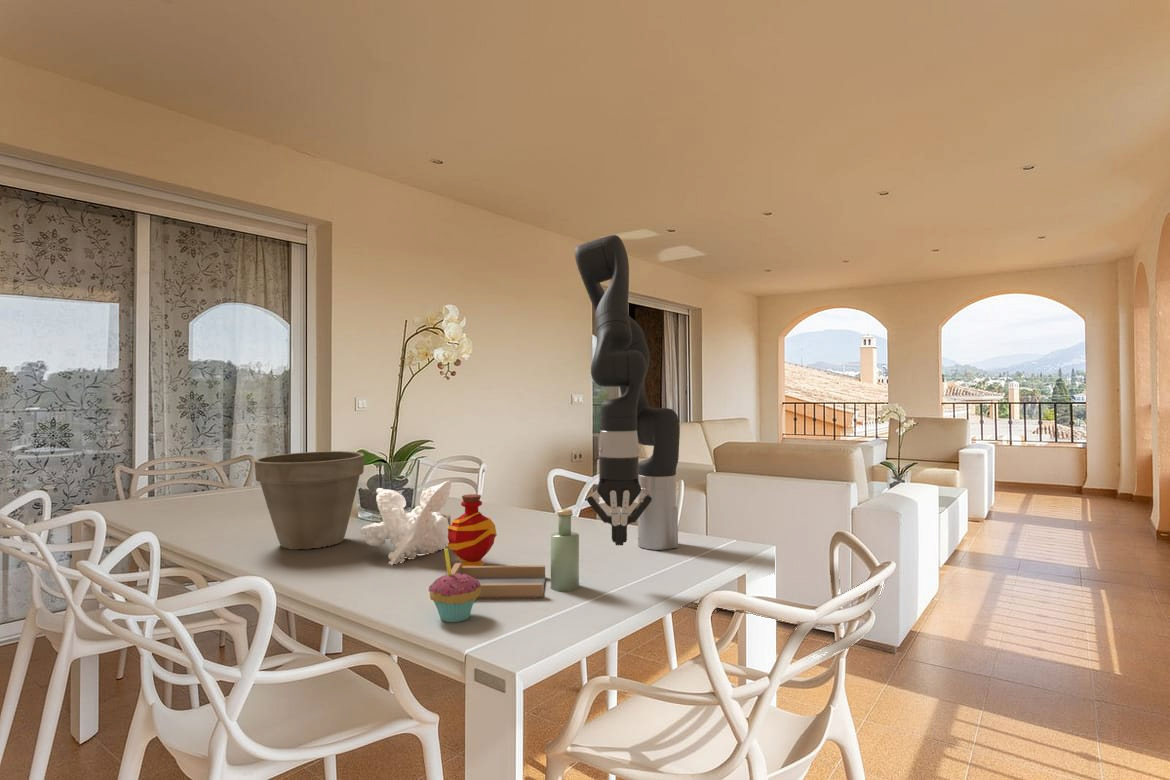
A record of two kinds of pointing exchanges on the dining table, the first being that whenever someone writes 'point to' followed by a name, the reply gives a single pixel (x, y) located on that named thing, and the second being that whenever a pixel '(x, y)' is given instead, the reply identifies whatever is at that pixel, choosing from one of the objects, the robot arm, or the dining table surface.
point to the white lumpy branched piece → (410, 523)
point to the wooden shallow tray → (506, 580)
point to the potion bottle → (471, 533)
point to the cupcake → (454, 594)
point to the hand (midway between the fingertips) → (619, 544)
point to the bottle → (564, 554)
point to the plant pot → (310, 495)
